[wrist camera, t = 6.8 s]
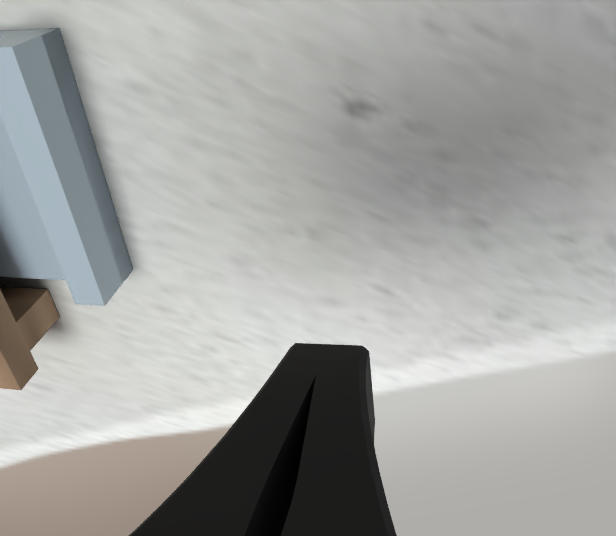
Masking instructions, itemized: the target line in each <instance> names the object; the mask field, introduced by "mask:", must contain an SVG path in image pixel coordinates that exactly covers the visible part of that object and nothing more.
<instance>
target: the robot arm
mask: <svg viewBox="0 0 616 536" xmlns="http://www.w3.org/2000/svg"><path fill="white" fill-rule="evenodd" d="M374 426H375V418H374V405H373V393H372V381H371V369H370V358H369V351H368V350H367V349H366V348H365V347H363V346H356V345H330V344H303V343H295V344H294V345H293V346H292V347H291V348H290V349H289V350H288V352H287V353H286V355H285V356H284V358H283V359H282V360H281V362H280V363H279V365H278V366H277V368H276V369H275V370H274V372H273V373H272V375H271V376H270V377H269V379H268V380H267V381H266V383H265V384H264V386H263V387H262V388H261V390H260V391H259V392H258V394H257V395H256V396H255V398H254V399H253V400H252V402H251V403H250V404H249V405H248V407H247V408H246V409H245V410H244V412H243V413H242V414H241V415H240V417H239V418H238V419H237V420H236V422H235V423H234V424H233V425H232V427H231V428H230V429H229V430H228V432H227V433H226V434H225V435H224V437H223V438H222V439H221V440H220V441H219V442H218V444H217V445H216V446H215V447H214V448H213V449H212V450H211V451H210V453H209V454H208V455H207V456H206V457H205V458H204V459H203V461H202V462H201V463H200V464H199V465H198V466H197V467H196V469H195V470H194V471H193V472H192V473H191V474H190V475H189V476H188V477H187V479H186V480H185V481H184V482H183V483H182V484H181V485H180V486H179V487H178V488H177V489H176V490H175V491H174V492H173V493H172V494H171V495H170V497H168V498H167V499H166V500H165V501H164V502H163V503H162V505H161V506H160V507H158V509H157V510H155V511H154V512H153V513H152V514H151V515H150V516H149V517H148V518H147V519H146V520H145V521H144V522H143V523H142V524H141V525H140V526H139V527H138V528H137V529H136V530H135V531H134V532H132V533H131V534H130V535H129V536H396V533H395V529H394V525H393V522H392V519H391V515H390V511H389V508H388V504H387V500H386V496H385V493H384V488H383V484H382V480H381V477H380V472H379V468H378V463H377V458H376V454H375V448H374Z"/></svg>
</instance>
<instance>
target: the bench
mask: <svg viewBox="0 0 616 536" xmlns="http://www.w3.org/2000/svg"><path fill="white" fill-rule="evenodd" d="M58 318H59V315H58V312H57V310H56V307H55V305H54V303H53V300H52V298H51V295H50V293H49V291H48V289H30V288H13V287H0V388H5V389H15V390H22V388H23V387H24V386H25V385H26V383H27V382H28V381H29V380H30V379H31V377H32V376H33V375H34V374H35V373H36V371H37V370H38V367H37V365H36V363H35V361H34V359H33V356H32V354H31V352H30V350H31V349H32V348H33V347H34V346H35V345H36V344H37V342H38V341H39V340H40V339H41V338H42V337H43V335H44V334H45V333H46V332H47V331H48V330H49V329H50V327H51V326H52V325H53V324H54V323H55V322H56V320H57V319H58Z"/></svg>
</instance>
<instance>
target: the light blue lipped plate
mask: <svg viewBox="0 0 616 536" xmlns="http://www.w3.org/2000/svg"><path fill="white" fill-rule="evenodd" d="M132 270H133V267H132V264H131V261H130V258H129V254H128V251H127V248H126V245H125V241H124V238H123V235H122V231H121V228H120V225H119V222H118V218H117V215H116V212H115V209H114V205H113V202H112V199H111V195H110V192H109V189H108V186H107V182H106V179H105V176H104V173H103V169H102V166H101V163H100V159H99V156H98V153H97V150H96V146H95V143H94V140H93V137H92V133H91V130H90V127H89V123H88V120H87V117H86V114H85V110H84V107H83V104H82V101H81V97H80V94H79V91H78V88H77V84H76V81H75V78H74V74H73V71H72V68H71V65H70V61H69V58H68V55H67V52H66V48H65V45H64V42H63V38H62V35H61V32H60V29H59V28H50V29H30V30H9V31H0V277H13V278H32V279H50V280H66V282H67V284H68V287H69V289H70V292H71V294H72V297H73V299H74V302H75V304H83V305H99V306H105V305H106V304H107V302H108V301H109V300H110V299H111V297H112V296H113V295H114V293H115V292H116V291H117V290H118V288H119V287H120V286H121V284H122V283H123V282H124V281H125V279H126V278H127V277H128V276H129V274H130V273H131V272H132Z"/></svg>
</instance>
